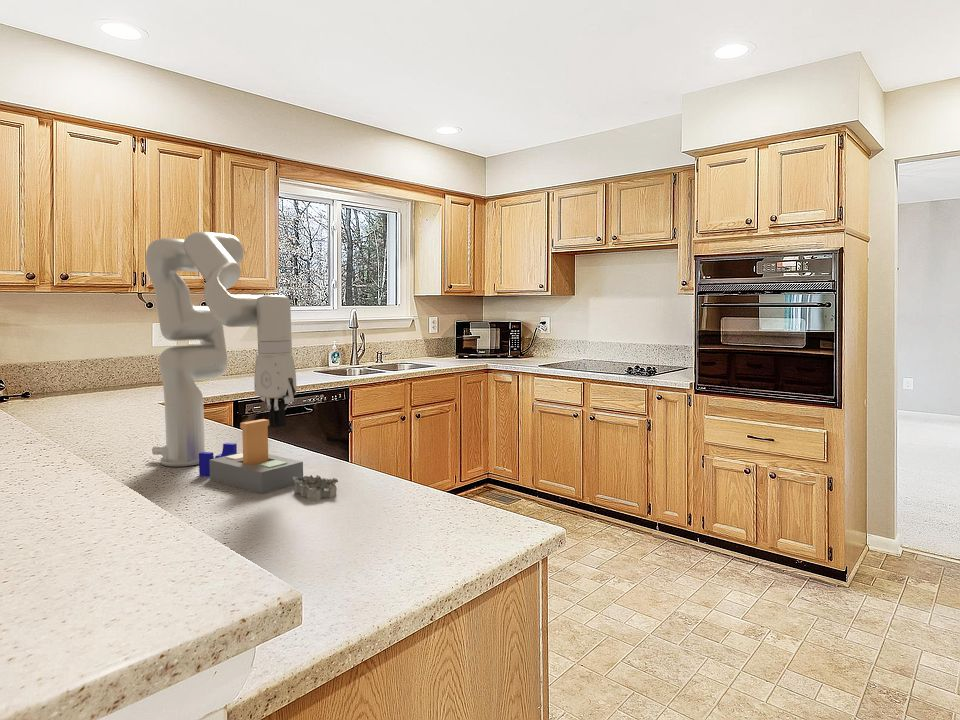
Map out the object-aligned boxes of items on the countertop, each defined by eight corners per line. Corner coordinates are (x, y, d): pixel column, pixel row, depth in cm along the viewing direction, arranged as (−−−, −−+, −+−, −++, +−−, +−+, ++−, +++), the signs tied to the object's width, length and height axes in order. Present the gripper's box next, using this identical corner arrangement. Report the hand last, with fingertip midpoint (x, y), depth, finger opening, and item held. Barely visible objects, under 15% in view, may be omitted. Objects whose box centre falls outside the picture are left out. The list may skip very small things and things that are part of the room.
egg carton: (340, 497, 142) (340, 479, 142) (308, 503, 138) (307, 485, 138) (321, 486, 151) (321, 469, 151) (291, 491, 147) (290, 473, 146)
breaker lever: (241, 472, 152) (240, 422, 151) (264, 467, 157) (262, 418, 156) (247, 474, 151) (246, 424, 149) (270, 468, 156) (269, 419, 155)
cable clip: (221, 464, 170) (221, 442, 170) (237, 465, 169) (236, 443, 169) (194, 476, 158) (193, 452, 158) (210, 477, 158) (209, 453, 157)
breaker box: (209, 479, 155) (209, 458, 154) (251, 469, 165) (251, 449, 164) (261, 493, 144) (261, 471, 143) (303, 481, 153) (302, 460, 153)
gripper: (241, 348, 148) (244, 426, 149) (282, 350, 139) (285, 432, 141) (268, 347, 154) (270, 421, 155) (309, 348, 146) (311, 427, 147)
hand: (277, 426), depth 148 cm, fingers closed
